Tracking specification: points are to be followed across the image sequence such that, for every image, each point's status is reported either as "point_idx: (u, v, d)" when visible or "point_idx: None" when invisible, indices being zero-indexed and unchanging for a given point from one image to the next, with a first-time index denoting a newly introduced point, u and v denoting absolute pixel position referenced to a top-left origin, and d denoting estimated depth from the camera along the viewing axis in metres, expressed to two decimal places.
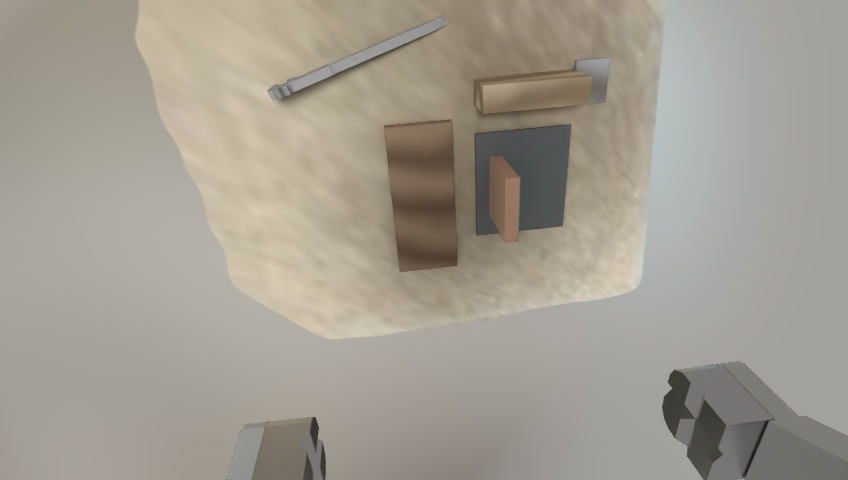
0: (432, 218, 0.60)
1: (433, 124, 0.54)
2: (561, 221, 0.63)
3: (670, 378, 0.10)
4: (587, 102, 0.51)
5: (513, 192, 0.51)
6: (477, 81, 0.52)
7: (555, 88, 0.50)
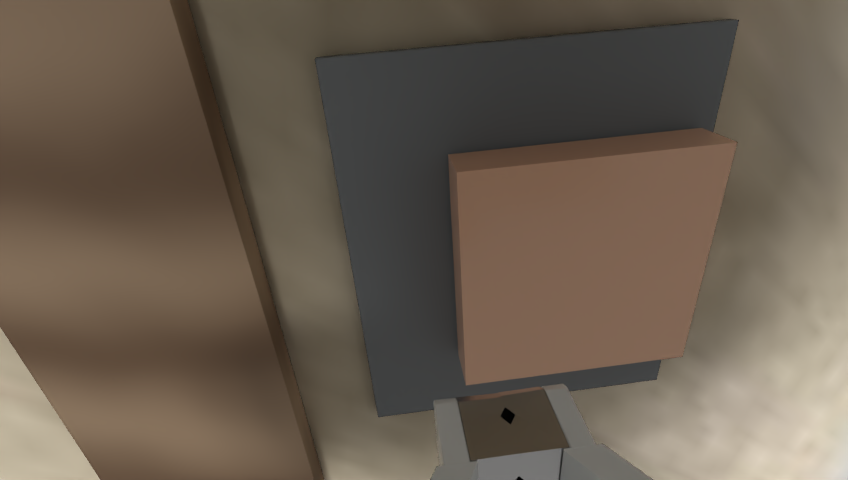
0: (197, 387, 0.16)
1: None
2: (654, 367, 0.19)
3: None
4: None
5: None
6: None
7: None
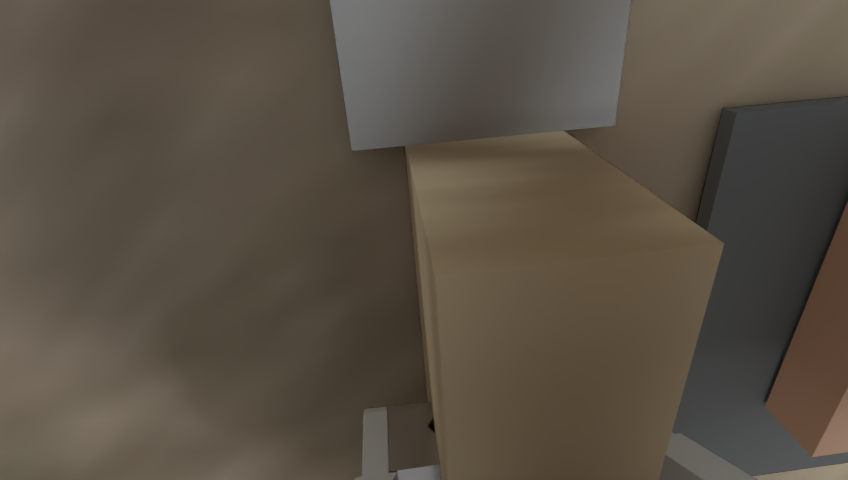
0: None
1: None
2: None
3: None
4: (700, 264, 0.05)
5: None
6: None
7: None
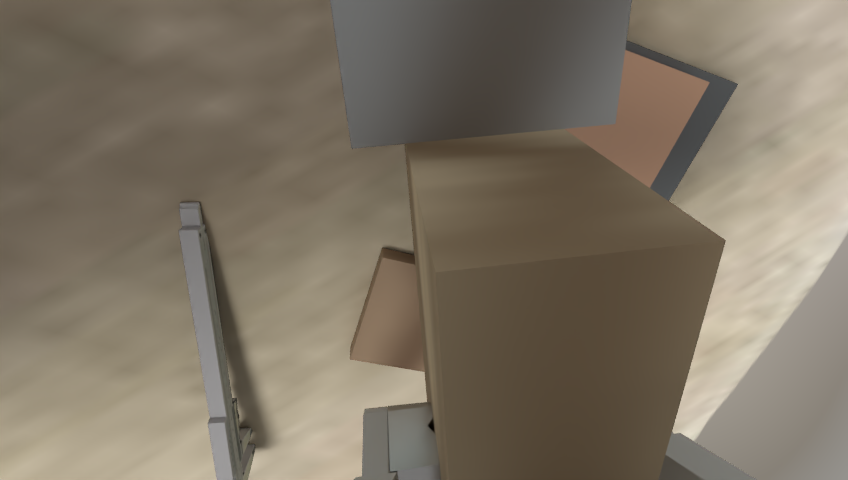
0: None
1: (374, 287, 0.28)
2: (725, 83, 0.25)
3: None
4: (702, 261, 0.05)
5: None
6: None
7: None
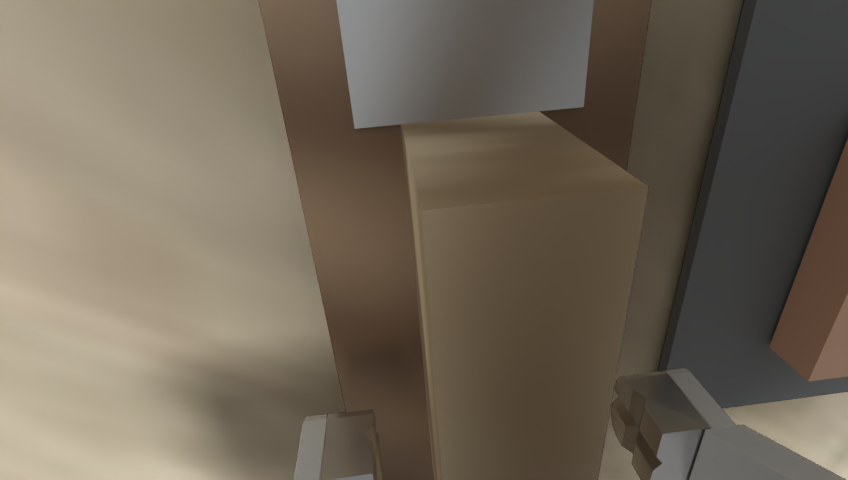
0: None
1: None
2: None
3: (616, 385, 0.10)
4: (631, 204, 0.06)
5: None
6: None
7: (492, 419, 0.08)
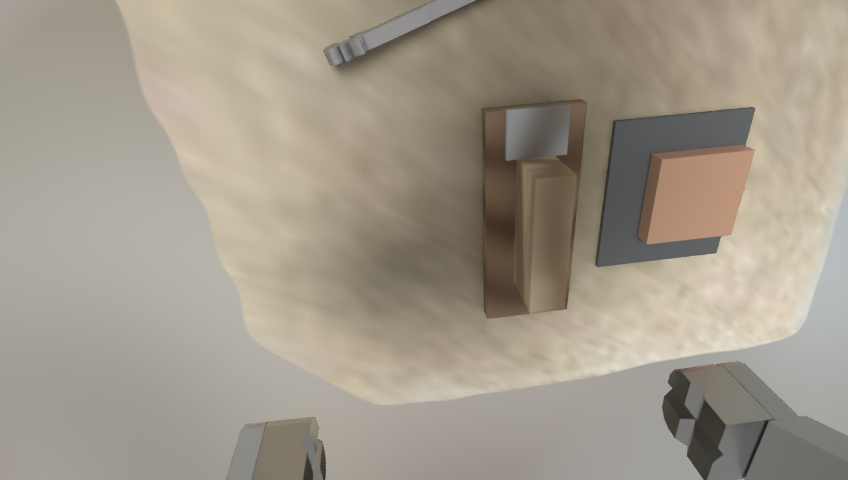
0: None
1: None
2: (715, 246, 0.45)
3: (670, 378, 0.10)
4: (573, 178, 0.33)
5: None
6: None
7: (545, 227, 0.35)
